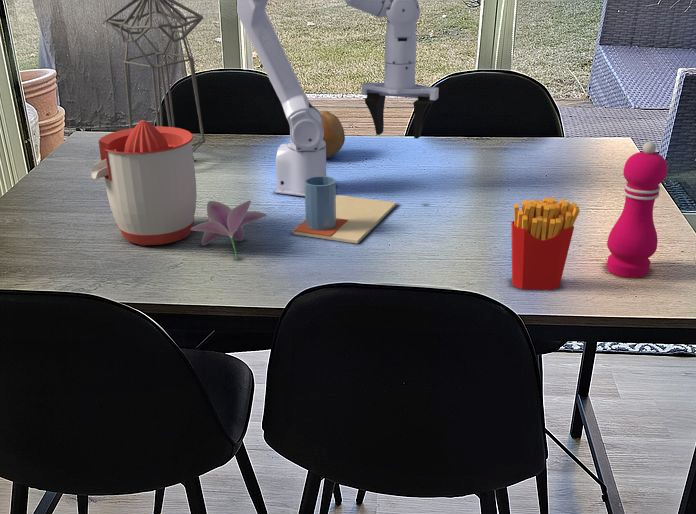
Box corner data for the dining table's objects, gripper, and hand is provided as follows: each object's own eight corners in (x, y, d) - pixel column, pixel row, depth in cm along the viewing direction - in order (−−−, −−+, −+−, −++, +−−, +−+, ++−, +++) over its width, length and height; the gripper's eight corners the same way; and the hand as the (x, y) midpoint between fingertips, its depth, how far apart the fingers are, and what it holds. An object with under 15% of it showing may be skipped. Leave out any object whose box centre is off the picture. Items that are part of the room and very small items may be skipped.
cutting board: (293, 234, 144) (293, 230, 144) (337, 197, 160) (337, 193, 159) (357, 243, 140) (357, 239, 139) (396, 205, 156) (396, 201, 155)
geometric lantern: (169, 149, 191) (150, -17, 173) (220, 159, 183) (206, -13, 165) (118, 166, 180) (92, -9, 162) (170, 179, 172) (149, -4, 154)
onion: (303, 150, 187) (302, 105, 182) (347, 151, 186) (347, 106, 181) (296, 163, 179) (295, 117, 174) (342, 164, 178) (342, 117, 173)
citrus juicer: (95, 228, 149) (76, 116, 138) (189, 213, 154) (177, 104, 144) (112, 260, 136) (92, 139, 126) (213, 242, 142) (202, 125, 132)
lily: (279, 249, 141) (262, 194, 141) (262, 248, 130) (245, 189, 129) (214, 269, 144) (198, 215, 143) (192, 270, 132) (175, 212, 131)
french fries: (507, 289, 124) (516, 206, 117) (504, 277, 127) (512, 196, 121) (570, 290, 123) (582, 206, 116) (565, 278, 126) (577, 196, 120)
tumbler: (301, 228, 144) (299, 183, 140) (313, 218, 149) (312, 174, 145) (329, 232, 143) (328, 187, 138) (340, 221, 147) (340, 177, 143)
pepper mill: (596, 261, 132) (615, 136, 121) (640, 259, 132) (663, 133, 122) (613, 280, 125) (636, 150, 115) (659, 278, 126) (686, 147, 116)
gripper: (355, 63, 151) (355, 137, 158) (431, 68, 146) (428, 144, 153) (369, 56, 157) (368, 128, 164) (443, 60, 152) (439, 134, 159)
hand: (398, 135), depth 159 cm, fingers open, 7 cm apart
